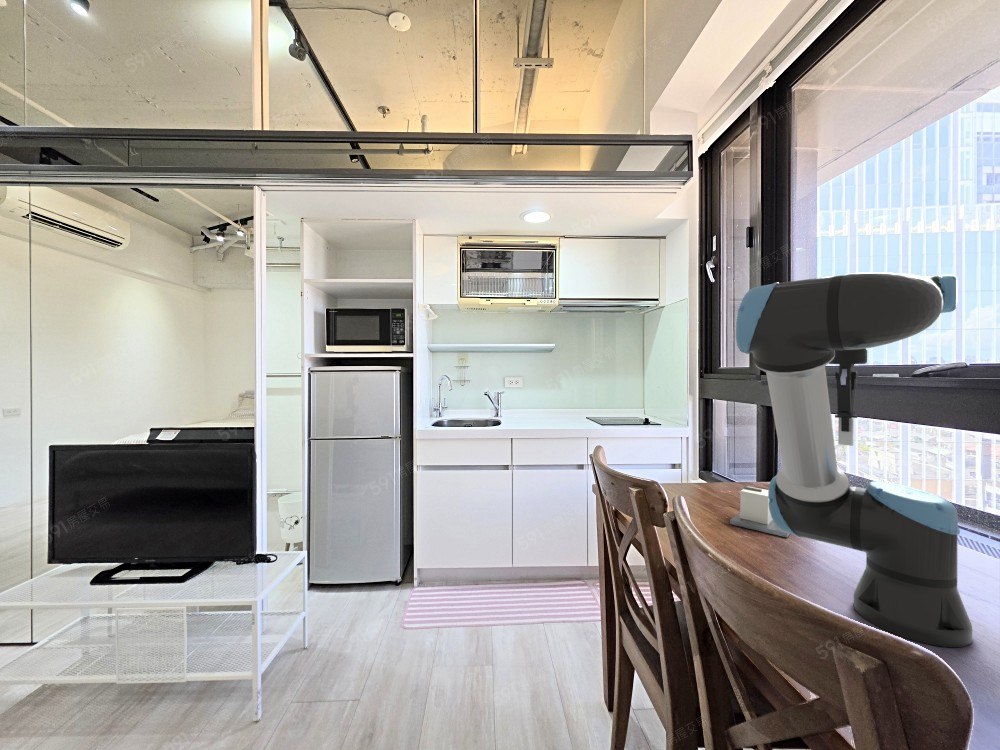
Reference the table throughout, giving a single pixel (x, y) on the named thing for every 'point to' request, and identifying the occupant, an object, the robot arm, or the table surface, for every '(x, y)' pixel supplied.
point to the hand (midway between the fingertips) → (845, 444)
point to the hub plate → (758, 526)
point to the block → (755, 505)
